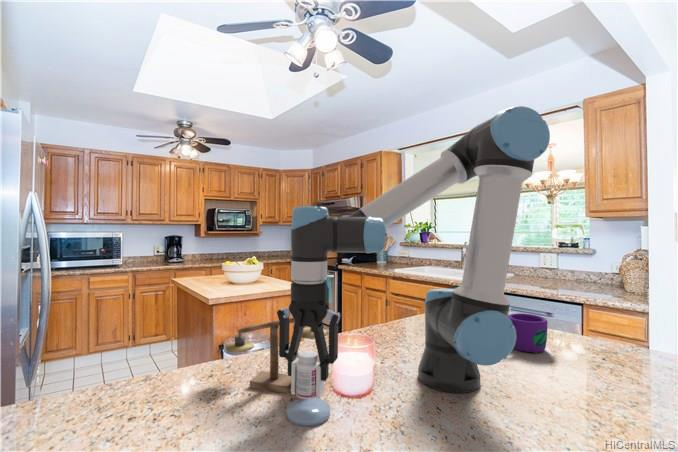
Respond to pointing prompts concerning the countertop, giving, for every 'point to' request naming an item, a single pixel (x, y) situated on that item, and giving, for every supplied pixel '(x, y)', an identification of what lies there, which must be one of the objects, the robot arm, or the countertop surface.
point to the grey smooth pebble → (308, 412)
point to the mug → (529, 332)
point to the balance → (272, 378)
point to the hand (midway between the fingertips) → (307, 393)
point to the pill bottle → (306, 375)
